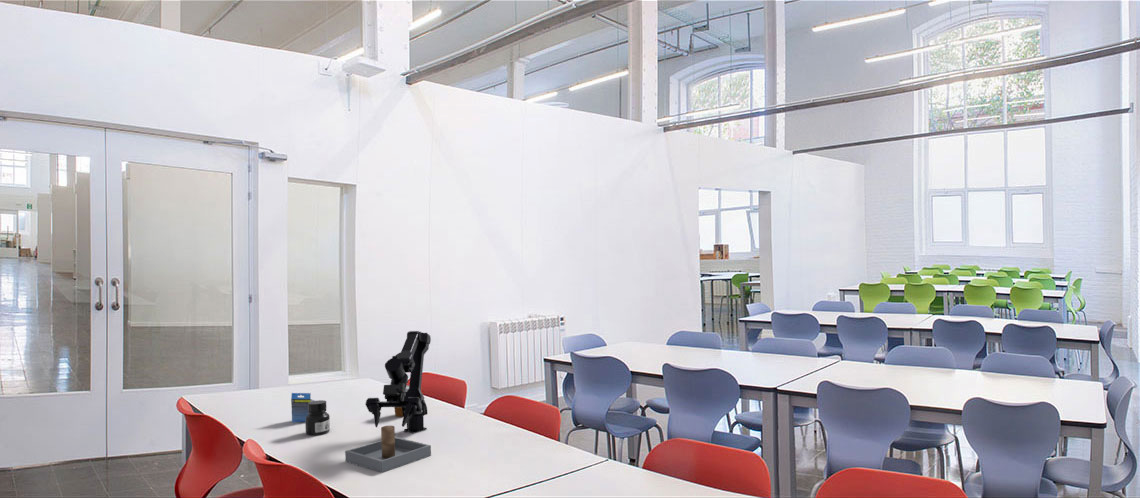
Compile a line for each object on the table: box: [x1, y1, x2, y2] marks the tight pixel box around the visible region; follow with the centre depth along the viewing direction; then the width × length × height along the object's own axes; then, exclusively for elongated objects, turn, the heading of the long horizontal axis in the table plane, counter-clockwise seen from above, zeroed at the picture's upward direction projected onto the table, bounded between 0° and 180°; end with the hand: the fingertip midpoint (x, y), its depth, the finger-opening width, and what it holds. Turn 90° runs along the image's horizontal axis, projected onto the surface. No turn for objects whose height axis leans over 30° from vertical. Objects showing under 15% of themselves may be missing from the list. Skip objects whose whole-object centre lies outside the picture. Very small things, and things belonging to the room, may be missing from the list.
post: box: [380, 425, 396, 459], centre depth 219 cm, size 4×4×10 cm
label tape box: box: [290, 392, 316, 423], centre depth 272 cm, size 9×4×12 cm, turn 84°
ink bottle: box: [304, 399, 331, 436], centre depth 253 cm, size 10×9×12 cm
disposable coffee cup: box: [393, 384, 409, 418], centre depth 278 cm, size 10×10×12 cm
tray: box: [344, 436, 432, 473], centre depth 219 cm, size 20×20×4 cm
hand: (389, 426), depth 220 cm, fingers open, 9 cm apart
